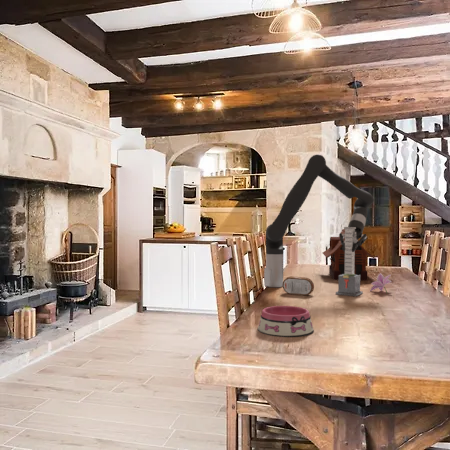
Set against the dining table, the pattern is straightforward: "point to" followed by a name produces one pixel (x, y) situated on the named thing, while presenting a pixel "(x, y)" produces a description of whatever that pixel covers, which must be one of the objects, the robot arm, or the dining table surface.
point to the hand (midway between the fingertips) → (348, 250)
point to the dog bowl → (285, 321)
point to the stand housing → (349, 285)
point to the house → (339, 259)
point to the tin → (298, 285)
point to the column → (349, 251)
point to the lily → (380, 282)
